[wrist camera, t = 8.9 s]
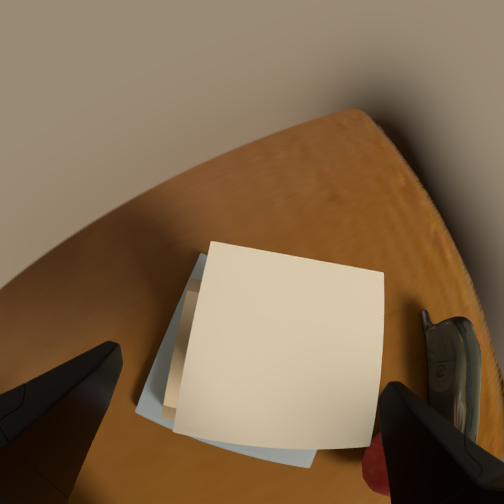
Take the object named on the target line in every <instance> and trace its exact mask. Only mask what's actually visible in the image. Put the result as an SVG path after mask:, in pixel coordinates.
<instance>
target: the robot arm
mask: <svg viewBox="0 0 504 504" xmlns="http://www.w3.org/2000/svg"><path fill="white" fill-rule="evenodd" d="M122 366H123V360H122V353H121V347H120V345H119V344H118V343H115V342H112V341H106V342H104V343H102V344H100V345H98V346H96V347H94V348H92V349H90V350H89V351H87V352H85V353H83V354H81V355H79V356H77V357H75V358H73V359H71V360H69V361H67V362H65V363H63V364H61V365H59V366H57V367H56V368H54V369H52V370H50V371H48V372H46V373H44V374H42V375H40V376H38V377H36V378H34V379H32V380H30V381H28V382H26V384H25V383H24V384H22V385H20V386H18V387H16V388H14V389H12V390H9V391H7V392H5V393H3V394H0V504H67V503H68V500H69V497H70V495H71V492H72V489H73V487H74V484H75V482H76V479H77V477H78V474H79V472H80V469H81V467H82V465H83V462H84V460H85V458H86V455H87V453H88V451H89V448H90V446H91V444H92V441H93V439H94V437H95V435H96V433H97V430H98V428H99V426H100V424H101V422H102V420H103V417H104V415H105V413H106V411H107V409H108V407H109V404H110V401H111V399H112V396H113V393H114V390H115V387H116V384H117V381H118V378H119V375H120V373H121V370H122ZM378 409H379V419H380V431H381V439H382V445H383V451H384V457H385V463H386V469H387V475H388V482H389V489H390V497H391V504H504V463H503V462H502V461H501V460H499V459H498V458H496V457H495V456H493V455H492V454H490V453H489V452H487V451H486V450H484V449H483V448H481V447H480V446H478V445H477V444H476V443H475V442H473V441H472V440H471V439H469V438H468V437H467V436H466V435H463V433H462V432H461V431H460V430H458V429H457V428H456V427H455V426H453V425H452V424H451V423H450V422H449V421H447V420H446V419H445V418H444V417H442V416H441V415H440V414H439V413H438V412H436V411H435V410H434V409H433V408H432V407H430V406H429V405H428V404H427V403H425V402H424V401H423V400H422V399H421V398H419V397H418V396H417V395H416V394H415V393H413V392H412V391H411V390H410V389H408V388H407V387H406V386H405V385H404V384H402V383H401V382H399V381H392V382H389V383H388V384H387V385H386V387H385V388H384V390H383V391H382V393H381V394H380V396H379V398H378Z"/></svg>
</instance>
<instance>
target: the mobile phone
mask: <svg viewBox="0 0 504 504" xmlns="http://www.w3.org/2000/svg"><path fill="white" fill-rule="evenodd" d="M421 316H422V321H423V326H424V332H425V338H426V344H427V358H428V382H429V406H430V407H432V408H433V409H434V410H435V411H436V412H438V413H439V414H440V415H441V416H442V417H444V418H445V419H446V420H447V421H449V422H450V423H451V424H452V425H453V426H455V427H456V428H457V429H458V430H460V431H461V432H462V433H463V435H466V436H467V437H468V438H469V439H471V440H472V441H473V442H475V443H476V444H477V435H478V427H479V418H480V391H481V369H482V361H481V350H480V345H479V343H478V341H477V338H476V335H475V332H474V328H473V325H472V323H471V321H470V320H468V319H467V318H465V317H460V316H458V317H453V318H449V319H446V320H444V321H442V322H440V323H438V324H435V325H434V324H431V322H430V320H429V315H428V312H427V310H424V311H422V312H421Z"/></svg>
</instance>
